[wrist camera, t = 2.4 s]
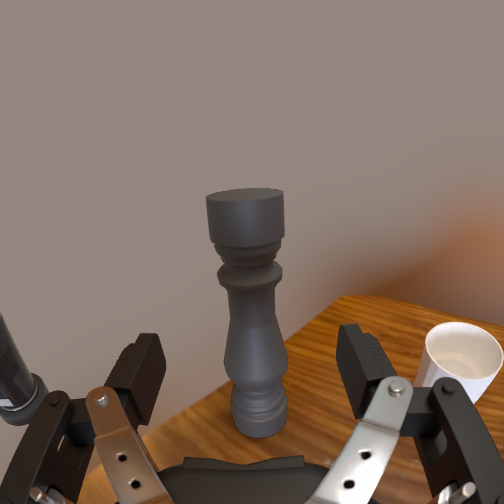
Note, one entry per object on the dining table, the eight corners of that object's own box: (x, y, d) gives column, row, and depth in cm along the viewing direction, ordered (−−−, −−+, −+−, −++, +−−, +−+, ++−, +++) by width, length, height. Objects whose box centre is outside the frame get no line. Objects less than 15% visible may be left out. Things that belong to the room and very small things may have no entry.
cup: (386, 407, 28) (407, 346, 25) (431, 371, 32) (452, 313, 28) (441, 453, 20) (481, 395, 16) (481, 405, 23) (513, 346, 20)
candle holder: (282, 396, 33) (279, 185, 24) (290, 434, 27) (295, 198, 18) (232, 400, 32) (205, 191, 24) (234, 440, 26) (197, 205, 18)
